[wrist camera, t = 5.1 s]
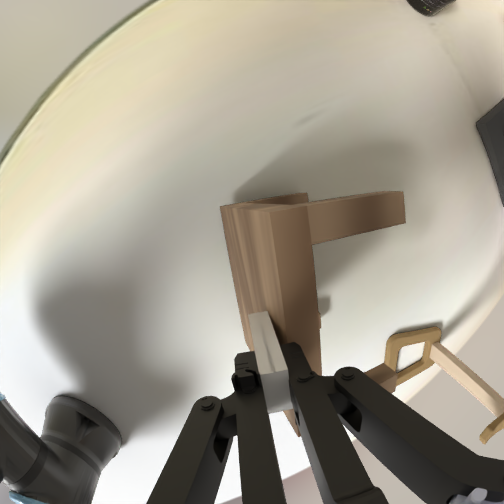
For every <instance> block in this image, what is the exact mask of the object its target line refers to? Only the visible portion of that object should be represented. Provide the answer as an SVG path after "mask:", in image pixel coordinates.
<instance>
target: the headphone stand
mask: <svg viewBox="0 0 504 504" xmlns="http://www.w3.org/2000/svg"><path fill="white" fill-rule="evenodd" d="M440 338H441V330H440V329H439V328H438V327H430V328H426V329H421V330H415V331H410V332H405V333H399V334H394V335H392V336H391V337H390V338H389V339H388V341H387V343H386V352H385V361H384V363H385V364H386V365H387V366H388V367H390V368H391V369H392V370H394V371H396V365H397V358H398V352H399V350H400V349H401V348H402V347H403V346H407V345H412V344H416V343H421V342H425V346H424V351H423V356H422V359H421V360H420V361H418V362H417V363H415V364H413V365H412V366H410V367H408V368H406V369H404V370H403V371H401V372H399V373H397V374H398V377H397V383H396V386H398V385H399V384H401V383H403V382H405V381H407V380H409V379H410V378H412V377H414V376H416V375H417V374H419V373H421V372H422V371H424V370H426V369H427V368H429V367H430V366H432V365H433V364H434V363H436V364H438V365H439V366H440V367H441V368H442V369H443V370H445V371H446V372H447V373H448V374H449V375H450V376H452V377H453V378H454V379H455V380H456V381H457V382H459V383H460V384H461V385H462V386H463V387H464V388H465V389H466V390H468V391H469V392H470V393H471V394H472V395H473V396H475V398H476V399H478V400H479V401H480V402H481V403H482V404H483V405H484V406H485V407H486V408H488V409H489V410H490V411H491V412H492V413H493V414H494V415H495V416H496V417H497V419H495V420H494V421H493V422H492V423H491V424H489V425H488V426H487V427H486V429H485V430H484V431H483V432H482V434H481V435H480V441H481V442H482V443H483V444H486V443H487V441H488V440H489V439H490V438H491V437H492V436H493V435H494V434H495V433H497V432H498V431H500V430H502V429H503V428H504V399H503V398H502V397H501V396H500V395H499V394H498V393H497V392H496V391H495V390H494V389H493V388H491V387H490V386H489V385H488V384H487V383H486V382H485V381H483V380H482V379H481V378H480V377H479V376H478V375H477V374H476V373H474V372H473V371H472V370H471V369H470V368H469V367H467V366H466V365H465V364H464V363H463V362H462V361H460V360H459V359H458V358H457V357H456V356H455V355H453V354H452V353H451V352H450V351H449V350H447V349H446V348H445V347H444V346H443V345H441V344H440Z"/></svg>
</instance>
